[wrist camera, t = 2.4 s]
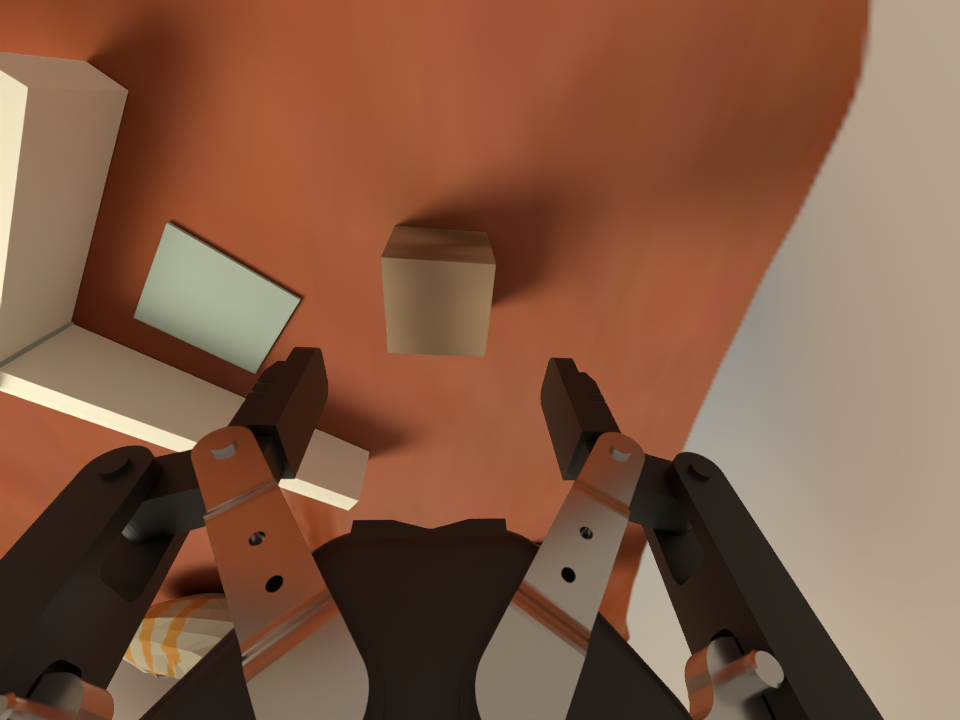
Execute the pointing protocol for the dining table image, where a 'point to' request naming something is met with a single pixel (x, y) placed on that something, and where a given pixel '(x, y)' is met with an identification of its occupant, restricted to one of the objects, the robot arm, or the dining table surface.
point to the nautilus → (179, 634)
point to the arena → (165, 298)
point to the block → (437, 291)
